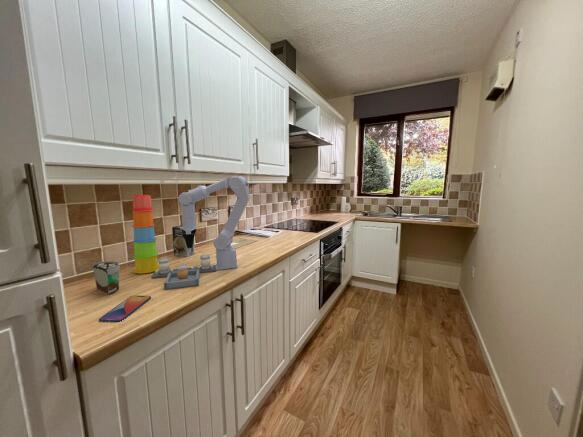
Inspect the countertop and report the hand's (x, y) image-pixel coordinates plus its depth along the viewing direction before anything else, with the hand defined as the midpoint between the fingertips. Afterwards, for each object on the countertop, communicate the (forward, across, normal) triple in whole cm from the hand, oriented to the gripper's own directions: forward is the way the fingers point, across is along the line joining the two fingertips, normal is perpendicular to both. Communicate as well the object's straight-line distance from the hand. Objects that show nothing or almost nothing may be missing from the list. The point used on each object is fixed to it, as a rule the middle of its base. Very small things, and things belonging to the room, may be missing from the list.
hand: (190, 246), depth 116 cm
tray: (+10, +19, -2) cm, 22 cm away
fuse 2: (+9, +8, +6) cm, 14 cm away
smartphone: (+10, +36, -17) cm, 41 cm away
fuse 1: (+9, +8, -10) cm, 16 cm away
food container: (+10, +18, -27) cm, 34 cm away
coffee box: (+10, -20, -5) cm, 23 cm away
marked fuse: (+9, +19, -2) cm, 21 cm away
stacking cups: (+10, 0, -19) cm, 22 cm away
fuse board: (+10, +8, -2) cm, 13 cm away
